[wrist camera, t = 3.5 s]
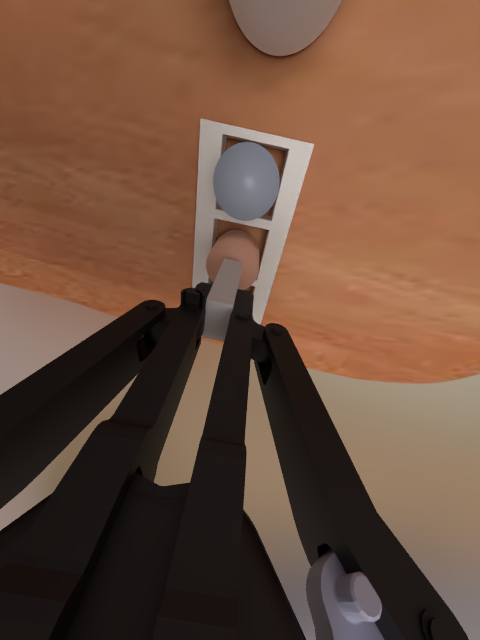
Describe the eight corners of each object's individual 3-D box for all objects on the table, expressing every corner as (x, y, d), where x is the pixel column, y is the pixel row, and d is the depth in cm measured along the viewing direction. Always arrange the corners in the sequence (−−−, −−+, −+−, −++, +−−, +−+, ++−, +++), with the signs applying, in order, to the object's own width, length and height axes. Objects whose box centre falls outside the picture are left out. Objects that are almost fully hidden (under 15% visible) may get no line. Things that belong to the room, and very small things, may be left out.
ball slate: (218, 206, 19) (210, 213, 16) (225, 140, 16) (217, 134, 13) (268, 217, 19) (269, 226, 16) (283, 153, 17) (288, 150, 13)
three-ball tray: (195, 306, 29) (190, 316, 27) (207, 123, 18) (200, 118, 16) (259, 318, 30) (258, 329, 28) (308, 146, 19) (314, 144, 17)
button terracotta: (211, 270, 23) (204, 286, 20) (216, 225, 20) (208, 235, 17) (254, 278, 23) (252, 296, 20) (264, 235, 20) (264, 247, 17)
